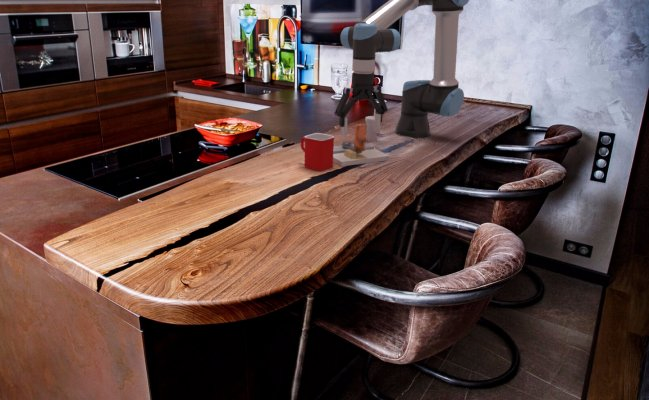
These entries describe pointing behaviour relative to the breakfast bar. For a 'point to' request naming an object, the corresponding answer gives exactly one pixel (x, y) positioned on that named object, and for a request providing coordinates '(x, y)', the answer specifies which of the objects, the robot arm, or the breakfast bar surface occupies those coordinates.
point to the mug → (318, 151)
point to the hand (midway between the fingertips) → (360, 133)
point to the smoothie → (371, 128)
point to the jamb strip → (341, 150)
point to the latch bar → (357, 139)
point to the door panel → (359, 157)
